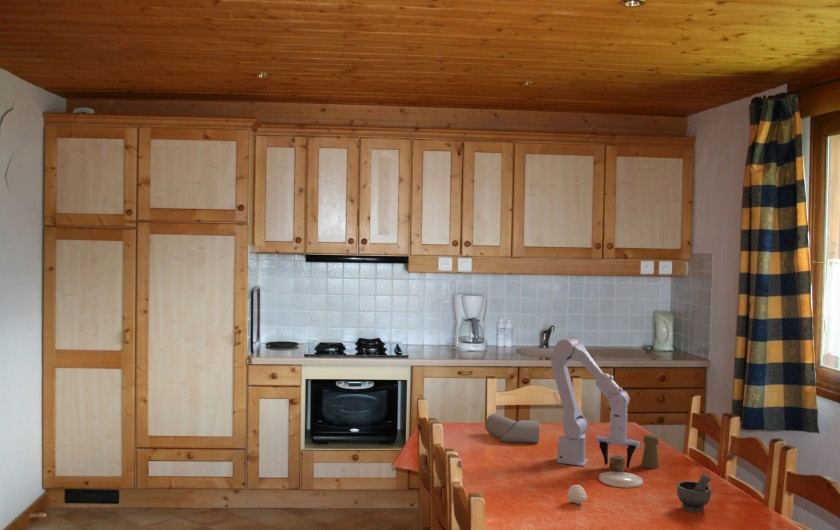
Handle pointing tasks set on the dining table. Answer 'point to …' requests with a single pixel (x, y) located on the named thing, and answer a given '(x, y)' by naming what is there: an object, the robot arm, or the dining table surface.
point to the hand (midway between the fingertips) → (616, 465)
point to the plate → (621, 479)
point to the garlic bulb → (577, 494)
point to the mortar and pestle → (694, 493)
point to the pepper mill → (650, 452)
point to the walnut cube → (617, 463)
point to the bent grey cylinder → (512, 429)
